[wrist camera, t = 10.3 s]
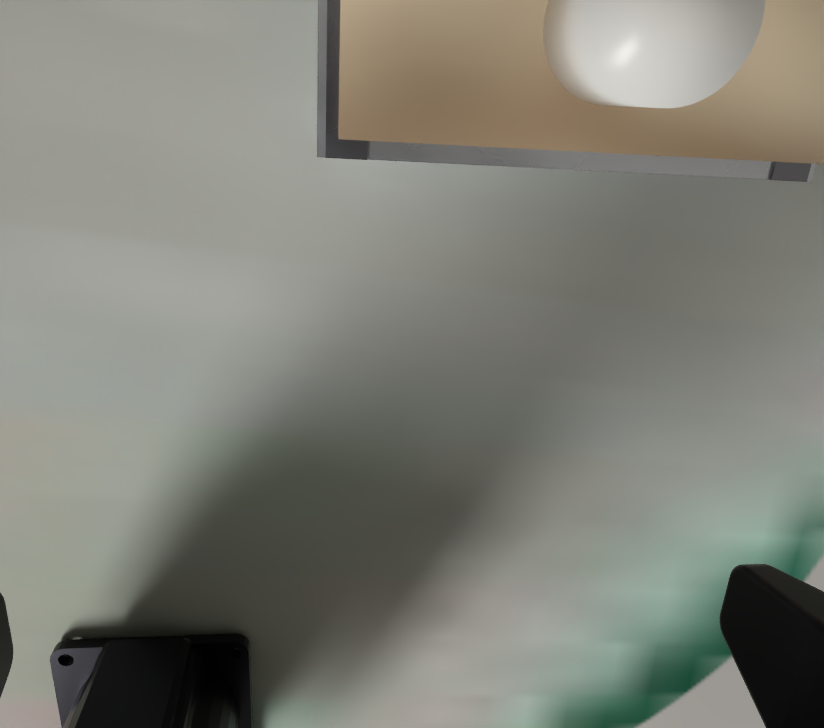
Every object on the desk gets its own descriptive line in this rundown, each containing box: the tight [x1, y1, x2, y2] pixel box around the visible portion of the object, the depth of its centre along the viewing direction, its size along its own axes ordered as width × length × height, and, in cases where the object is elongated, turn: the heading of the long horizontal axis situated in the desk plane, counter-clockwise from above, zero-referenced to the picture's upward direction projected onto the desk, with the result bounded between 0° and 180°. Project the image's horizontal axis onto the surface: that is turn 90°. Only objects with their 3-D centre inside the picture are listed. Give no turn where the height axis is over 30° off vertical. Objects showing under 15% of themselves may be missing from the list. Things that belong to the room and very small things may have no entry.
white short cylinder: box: [543, 0, 765, 108], centre depth 14 cm, size 3×3×3 cm
